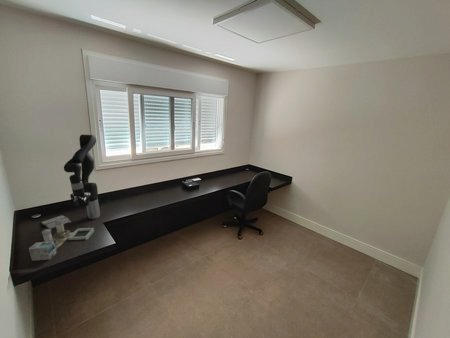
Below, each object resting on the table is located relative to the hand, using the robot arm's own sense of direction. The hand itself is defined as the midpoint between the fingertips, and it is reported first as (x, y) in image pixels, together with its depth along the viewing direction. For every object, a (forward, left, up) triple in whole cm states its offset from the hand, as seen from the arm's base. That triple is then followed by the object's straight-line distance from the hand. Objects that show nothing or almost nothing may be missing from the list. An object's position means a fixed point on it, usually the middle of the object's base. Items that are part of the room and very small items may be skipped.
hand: (82, 205), depth 161 cm
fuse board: (+21, -10, -20) cm, 30 cm away
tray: (+15, +4, -20) cm, 25 cm away
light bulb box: (+38, -7, -20) cm, 43 cm away
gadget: (-6, -26, -21) cm, 34 cm away
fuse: (+28, -10, -18) cm, 34 cm away
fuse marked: (+15, -10, -18) cm, 25 cm away
